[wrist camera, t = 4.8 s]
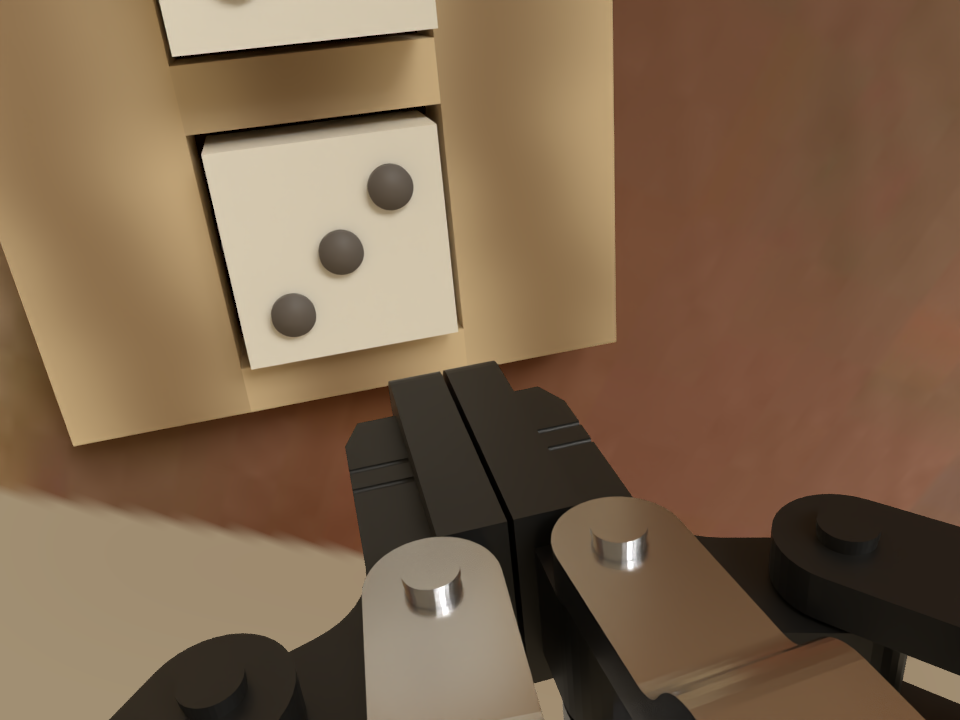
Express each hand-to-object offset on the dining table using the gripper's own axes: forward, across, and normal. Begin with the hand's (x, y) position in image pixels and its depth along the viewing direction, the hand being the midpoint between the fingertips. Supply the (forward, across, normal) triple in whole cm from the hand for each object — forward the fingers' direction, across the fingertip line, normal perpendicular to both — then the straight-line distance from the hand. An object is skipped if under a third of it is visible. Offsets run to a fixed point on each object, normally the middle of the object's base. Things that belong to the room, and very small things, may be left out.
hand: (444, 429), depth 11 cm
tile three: (+10, +1, 0) cm, 11 cm away
